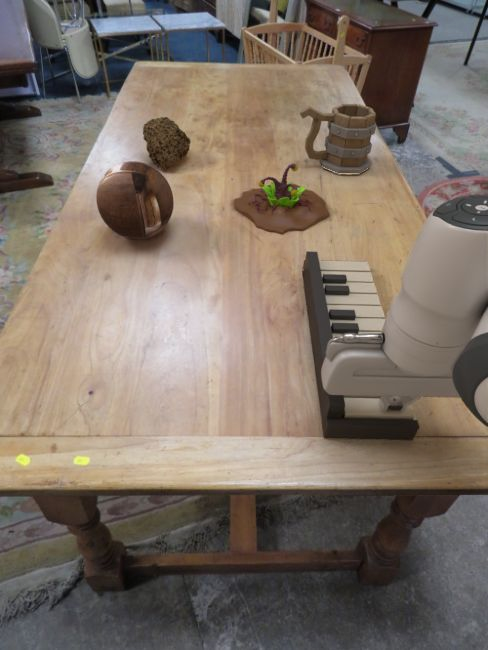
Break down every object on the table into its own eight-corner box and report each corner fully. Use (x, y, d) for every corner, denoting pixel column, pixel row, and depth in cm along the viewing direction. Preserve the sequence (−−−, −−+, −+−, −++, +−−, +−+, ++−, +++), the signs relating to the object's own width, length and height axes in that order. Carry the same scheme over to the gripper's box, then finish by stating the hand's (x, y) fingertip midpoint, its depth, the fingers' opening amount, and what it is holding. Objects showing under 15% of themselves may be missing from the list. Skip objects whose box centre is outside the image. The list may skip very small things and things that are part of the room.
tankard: (361, 155, 122) (374, 97, 112) (372, 175, 114) (387, 115, 103) (291, 154, 122) (297, 96, 111) (296, 175, 113) (303, 114, 102)
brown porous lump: (156, 177, 113) (124, 128, 112) (188, 172, 123) (159, 127, 123) (181, 147, 105) (147, 95, 105) (212, 145, 116) (181, 97, 115)
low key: (366, 266, 81) (367, 261, 80) (369, 275, 79) (370, 270, 78) (318, 265, 81) (318, 260, 80) (319, 274, 79) (320, 269, 78)
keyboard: (364, 274, 84) (371, 248, 80) (412, 440, 58) (426, 415, 54) (302, 273, 84) (305, 247, 80) (323, 438, 58) (330, 413, 54)
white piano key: (406, 404, 60) (408, 398, 59) (411, 420, 58) (413, 415, 57) (340, 402, 60) (342, 397, 59) (343, 419, 58) (345, 414, 57)
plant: (344, 222, 97) (353, 174, 89) (272, 248, 90) (276, 198, 82) (290, 185, 109) (295, 140, 101) (223, 205, 101) (222, 158, 94)
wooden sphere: (104, 219, 96) (88, 152, 86) (171, 211, 99) (164, 145, 89) (106, 258, 86) (88, 187, 76) (181, 248, 89) (174, 179, 78)
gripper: (334, 355, 46) (315, 426, 56) (526, 359, 46) (474, 429, 56) (326, 314, 50) (310, 386, 60) (502, 318, 50) (457, 389, 60)
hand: (390, 407), depth 58 cm, fingers closed, pressing on white piano key
